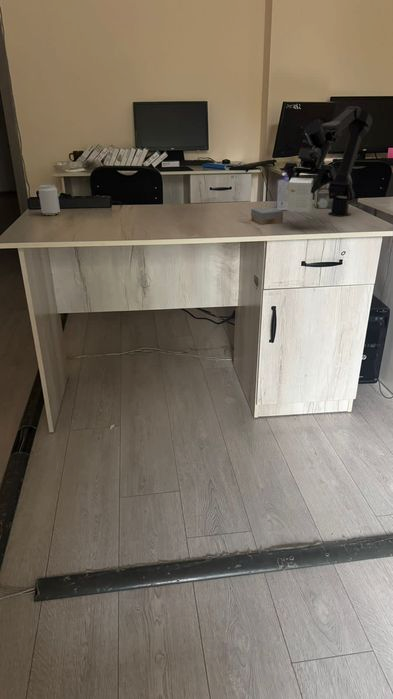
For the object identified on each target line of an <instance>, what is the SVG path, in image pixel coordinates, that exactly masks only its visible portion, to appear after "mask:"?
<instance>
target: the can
mask: <svg viewBox="0 0 393 699" xmlns="http://www.w3.org/2000/svg"><path fill="white" fill-rule="evenodd" d="M38 195H39V203H40V209H41V214H42V213H57V212H61V211H60V210H61V209H60V201H59V194H58V188H57V187H56V185H55V184H42V185H39V189H38Z"/></svg>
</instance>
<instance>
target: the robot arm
mask: <svg viewBox="0 0 393 699" xmlns="http://www.w3.org/2000/svg"><path fill="white" fill-rule="evenodd" d="M372 125H373V117H372V116H371V114H370V113H369V112H367V111H365V110H363V109H362V108H361V107H359V106H348V107H345V109H344V110H343V111H342V112H341V113H340V114H339V115H338V116H336V117H335V118H334V119H333V120H332V121H329V122H324V123H322V121H321V119H314V121H313V122H310V123H309V124H307V125H306V126H305V128H304V134H305V135H306V138H307V141H308V142H309V145H310V146H312V148H303V147H302V148H299V149H300V150H299V153H298V156H297V159H298V160H300V161H301V162H300V164H301V165H302V166H299V165H298V164H297V162H286V163H285V164H284V165H283V170H284V171H285V174H287V176H286V177H289V180H288V182H289V181H290V179H291V178H300V176H301V175H300V174H306V175H311V176H317V177H316V179H315V180H314V182H313V187H312V189H311V193H313V194H315V191H316V190H318V189H319V188H320V187H322V186H324V185H325V184H327V183H330V185H329V188H328V190H329V199H333V203H332V208H331V211H330V212H328V215H332V216H336V217H343V216H351V215H352V214H351V212H349V205H350V204H349V203H350V201H354V198H355V191H354V188H353V180H352V175H351V174H352V172H353V168H354V165H355V162H356V159H357V155H358V153H359V148H360V145H361V143H362V139H363V138H364V137H365V136H366V135H367V134H368V133H369V131H370V129H371V126H372ZM346 127H347V128H346ZM344 129H347V132H348V134H349V137H348V140H347V142H346V146H345V149H344V152H343V155H342V156H343V157H342V159H341V163H340V166H339V169H338V171H337V172H336V170H335V168H334V166H333V165H332V164H326V163H325V160H326V158H327V155H328V154H332V146H331V143H337V142H338V141H339V139H340V138H341V137H342V131H343V130H344Z"/></svg>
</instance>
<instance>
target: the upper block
mask: <svg viewBox="0 0 393 699" xmlns="http://www.w3.org/2000/svg"><path fill="white" fill-rule="evenodd" d="M250 211H251V212H250V213H251V214H250V216H253V217H256V218H258V219H261V220H266V219H275V218H283V219H284V210H279V209H276V207H271V206H269V207H262V208H261V207H259V208H251V209H250Z"/></svg>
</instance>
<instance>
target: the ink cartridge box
mask: <svg viewBox="0 0 393 699" xmlns="http://www.w3.org/2000/svg"><path fill="white" fill-rule="evenodd" d="M288 180H289V177H288V176H287V174H286V173H284V179H277V180H276V181H277V182H276V201H275V202H276V203H275V204H276V206H275V208H276V209H279V210H281V211H288Z"/></svg>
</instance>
